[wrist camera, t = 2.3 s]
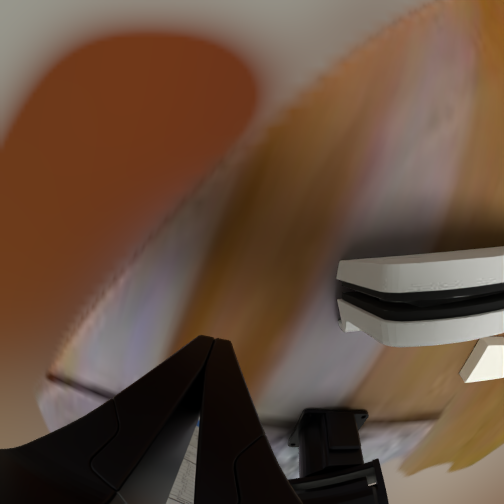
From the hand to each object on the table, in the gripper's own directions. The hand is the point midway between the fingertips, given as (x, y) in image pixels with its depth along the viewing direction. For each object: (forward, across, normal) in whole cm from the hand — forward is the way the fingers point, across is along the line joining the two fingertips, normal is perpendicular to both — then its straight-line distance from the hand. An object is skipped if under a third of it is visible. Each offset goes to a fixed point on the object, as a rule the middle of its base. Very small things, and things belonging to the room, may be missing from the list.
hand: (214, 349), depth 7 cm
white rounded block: (+11, -14, 0) cm, 18 cm away
